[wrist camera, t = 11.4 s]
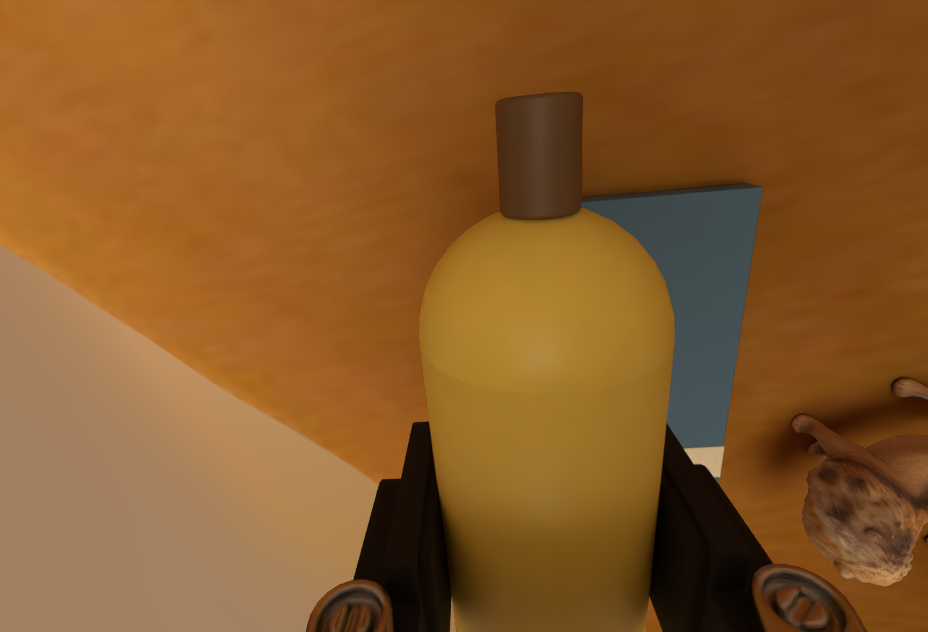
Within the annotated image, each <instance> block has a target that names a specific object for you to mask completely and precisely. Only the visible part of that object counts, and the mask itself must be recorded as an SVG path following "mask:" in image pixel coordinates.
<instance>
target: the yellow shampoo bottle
mask: <svg viewBox="0 0 928 632" xmlns="http://www.w3.org/2000/svg"><path fill="white" fill-rule="evenodd" d="M495 112H496V132H497V152H498V172H499V192H500V212H497V213H494V214H492V215H490V216H488V217H486V218H485V219H483V220H481V221H480V222H478V223H476V224H475V225H473V226H471V227H470V228H468V229H467V230H466V231H465V232H464V233H463V234H462V235H461V236H460V237H458V238H457V239H456V240H455V241H454V242H453V243H452V244H451V245H450V246H449V247H448V249H447V250H446V252H445V253H444V254H443V256H442V257H441V259H440V260H439V262H438V263H437V264H436V266H435V268H434V269H433V271H432V273H431V276H430V278H429V280H428V283H427V285H426V288H425V290H424V293H423V298H422V303H421V308H420V313H419V347H420V355H421V362H422V370H423V378H424V386H425V393H426V401H427V409H428V416H429V424H430V432H431V440H432V447H433V455H434V463H435V471H436V478H437V485H438V492H439V500H440V508H441V516H442V523H443V531H444V539H445V547H446V554H447V562H448V570H449V578H450V585H451V593H452V601H453V609H454V618H455V625H456V632H645V631H646V621H647V611H648V601H649V591H650V581H651V571H652V561H653V552H654V542H655V532H656V522H657V512H658V502H659V492H660V482H661V473H662V463H663V453H664V443H665V433H666V423H667V413H668V403H669V393H670V384H671V374H672V364H673V354H674V344H675V324H674V313H673V308H672V304H671V301H670V297H669V293H668V289H667V285H666V282H665V280H664V278H663V276H662V274H661V272H660V270H659V268H658V266H657V265H656V263H655V261H654V259H653V258H652V257H651V256H650V255H649V253H648V252H647V251H646V250H645V249H644V248H643V246H642V245H641V244H640V243H639V242H638V240H637V239H636V238H635V237H634V236H632V235H631V234H630V233H628V232H627V231H626V230H624V229H623V228H622V227H620V226H619V225H618V224H617V223H615V222H614V221H612V220H610V219H607V218H605V217H603V216H601V215H599V214H597V213H595V212H592V211H590V210H588V209H585V208H581V183H582V116H583V96H582V94H581V93H578V92H558V93H545V94H534V95H525V96H517V97H511V98H505V99H501V100H499V101H497V102H496V105H495Z"/></svg>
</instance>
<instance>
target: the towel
mask: <svg viewBox="0 0 928 632" xmlns="http://www.w3.org/2000/svg"><path fill="white" fill-rule="evenodd" d="M761 194H762V187H760V186H755V185H750V184H736V185H725V186H713V187H701V188H690V189H678V190H666V191H655V192H643V193H631V194H620V195H608V196H597V197H585V198H581V208H585V209H588V210H590V211H592V212H595V213H597V214H599V215H601V216H603V217H605V218H607V219H610V220H612V221H614V222H615V223H617V224H618V225H619V226H620V227H622V228H623V229H624V230H626V231H627V232H628V233H630V234H631V235H632V236H634V237H635V238H636V239H637V240H638V242H639V243H640V244H641V245H642V246H643V248H644V249H645V250H646V251H647V252H648V253H649V255H650V256H651V257H652V258H653V259H654V261H655V263H656V265H657V266H658V268H659V270H660V272H661V274H662V276H663V278H664V280H665V282H666V285H667V289H668V293H669V297H670V301H671V304H672V308H673V313H674V324H675V344H674V354H673V364H672V374H671V384H670V393H669V403H668V413H667V424H668V425H669V427H670V429H671V430H672V432H673V433H674V435H675V436H676V438H677V439H678V441H679V442H680V444H681V445H682V447H683V448H684V450H685V451H686V453H687V454H688V456H689V458H690V459H691V461H692V462H693V464H702V465H704V466H706V468H707V469H708V470H709V471H710V472H711V474H712V475H713V477H714V478H715V480H716V481H717V483H718V477H720V472H721V466H722V459H723V453H724V446H723V443H724V437H725V430H726V424H727V417H728V411H729V404H730V398H731V391H732V384H733V378H734V371H735V365H736V358H737V352H738V345H739V339H740V332H741V325H742V319H743V312H744V306H745V299H746V293H747V286H748V280H749V273H750V266H751V260H752V253H753V247H754V240H755V234H756V227H757V221H758V214H759V207H760V201H761Z"/></svg>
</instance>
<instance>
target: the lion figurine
mask: <svg viewBox="0 0 928 632" xmlns="http://www.w3.org/2000/svg"><path fill="white" fill-rule="evenodd" d="M893 389H894V393H895V394H896V395H897V396H900V397H909V396H918V397H922V398H924V399H927V400H928V387H926V386H924V385H923V384H921V383H919V382H917V381H914V380H911V379H900V380H898V381H897V382H895V383H894V385H893ZM792 427H793V428H794V430H795V431H796V432H799V433H800V432H805V433H807V434H808V435H811V436H813V437H815V438H816V439H817V441H818V442H816V443H814V444H812V445H811V446H810V447H809V454H810V455H811V456H813V457H814V458H815V459H823V458H825V457H826V456H827V457H828V458H827V459H826V460H825V461H824V462H823V463H822V464H821V465H820V467H818V468H814V469H813V470H811V471H809V473H808V477H807V483H808V486H809V491H808V494H807V496H806V498H805V504H804V509H803V510H802V515H803V518H802V521H803V523H804V528H805V532H806V534H807V537H808V539H809V541H810V543H811V544H813V545H814V546H815V547H816V548H817V549H818V550H819V551H820V552H821V553H822V554H823V555H824V556H825V557H826V558H827V559H829V561H830V562H831V563H833V564H834V565H835V567H836V568H837V569H838V570H839V572H840V574H841V575H842V576H843V577H845V578H847V579H848V578H854V577H856V578H857V579H859V580H860V581H861V582H863V583H866V582H871V583H872V584H875V585H881V586H888V585H890V584H892V583H894V582H897V581H900V580H901V579H902V577H904V576H906V575H907V572H908V571H909V570H910V569H911V565H910V561H911V560H912V559H913V554H912V552H911V551H912V550H913V548H914V547H915V545H916V543H915V541H917V540H918V537H919V533H920V531H921V529H922V527H923V526H924V524H925V523H927V522H928V435H914V434H910V435H903V436H896V437H891V438H888V439H885V440H882V441H880V442H877V443H875V444H873V445H871V446H869V447H867V448H863V447H861V446H859V445H856V444H854V443H852V442H850V441H848V440H846V439H844V438H843V437H841V436H839V435H838V434H836V433H835V432H833V431H832V430H830V429H829V428H827V427H826V426H825V425H823V424H822V423H821V422H819V421H818V420H816V419H814V418H812V417H810V416H807V415H799V416H796V417H795V418H794V419H793V421H792Z"/></svg>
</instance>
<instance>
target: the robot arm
mask: <svg viewBox="0 0 928 632" xmlns="http://www.w3.org/2000/svg"><path fill="white" fill-rule="evenodd" d="M451 596H452V593H451V585H450V578H449V570H448V562H447V554H446V547H445V539H444V531H443V523H442V516H441V508H440V500H439V492H438V485H437V478H436V471H435V463H434V455H433V447H432V440H431V432H430V424H429V422H414V423H413V425H412V429H411V434H410V438H409V443H408V448H407V453H406V457H405V462H404V467H403V472H402V476H401V479H382V480H381V481H380V484H379V486H378V490H377V494H376V498H375V501H374V505H373V509H372V512H371V516H370V520H369V524H368V527H367V531H366V535H365V538H364V542H363V546H362V549H361V553H360V557H359V560H358V564H357V568H356V572H355V576H354V579H353V580H351V581H348V582H345V583H343V584H340V585H338V586H336V587H335V588H333V589H332V590H330V591H329V592H327V593H326V594H325V595H324V597H322V598H321V599H320V600H319V601H318V603H317V604H316V606H315V608H314V609H313V611H312V613H311V614H310V618H309V621H308V625H307V629H306V632H450V616H451V615H450V614H451ZM649 596H650V599H651V602H652V604H653V607H654V610H655V612H656V615H657V618H658V620H659V623H660V626H661V628H662V631H663V632H867V630H866V629H865V627H864V625H863V623H862V621H861V620H860V618H859V616H858V614H857V613H856V611H855V609H854V608H853V606H852V605H851V604H850V602H849V601H848V600H847V598H846V597H845V596H844V595H843V594H842V593H841V592H840V591H839V590H838V589H837V588H835V587H834V586H833V585H832V584H831V583H829V582H828V581H826V580H825V579H823V578H821V577H820V576H818V575H817V574H815V573H812V572H810V571H808V570H805V569H803V568H801V567H797V566H792V565H788V564H773V563H772V561H771V560H770V558H769V557H768V555H767V554H766V552H765V551H764V549H763V548H762V547H761V545H760V544H759V542H758V541H757V539H756V538H755V536H754V535H753V533H752V532H751V531H750V529H749V528H748V526H747V525H746V523H745V522H744V520H743V519H742V517H741V516H740V515H739V513H738V512H737V510H736V509H735V507H734V506H733V504H732V503H731V501H730V500H729V499H728V497H727V496H726V494H725V493H724V491H723V490H722V488H721V487H720V485H719V484H718V483H717V481H716V480H715V478H714V477H713V475H712V474H711V472H710V471H709V470H708V469H707V468H706V466H704V465H702V464H693V462H692V461H691V459H690V458H689V456H688V454H687V453H686V451H685V450H684V448H683V447H682V445H681V444H680V442H679V441H678V439H677V438H676V436H675V435H674V433H673V432H672V430H671V429H670V427H669V425H668V424H667V423H666V433H665V443H664V453H663V463H662V473H661V482H660V492H659V502H658V512H657V522H656V532H655V542H654V552H653V561H652V571H651V581H650V591H649Z"/></svg>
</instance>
